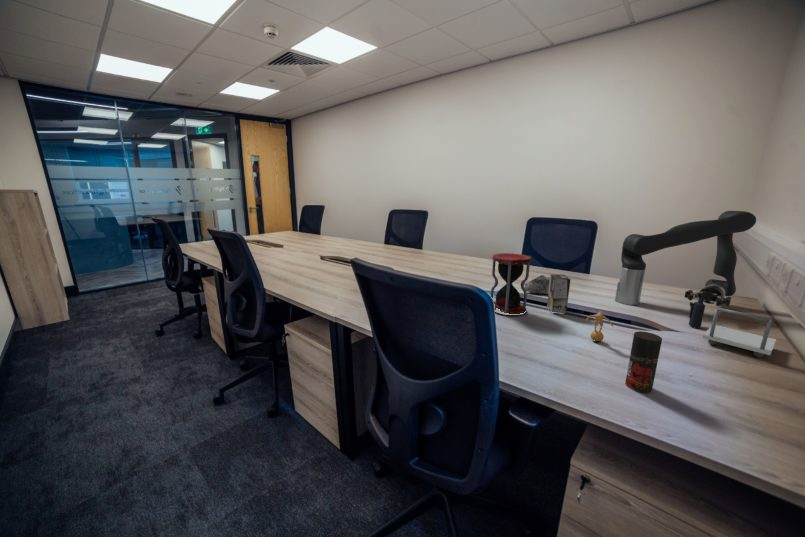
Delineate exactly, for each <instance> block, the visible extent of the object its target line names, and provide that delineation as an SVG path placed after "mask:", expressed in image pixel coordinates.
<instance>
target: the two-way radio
mask: <svg viewBox="0 0 805 537" xmlns="http://www.w3.org/2000/svg"><path fill="white" fill-rule="evenodd" d="M704 295H705V292H704V291H703V292H702V295H701V299H699V300H697V301H694V302H689V306H690V308H689V309H690V310H689V314H688V318H689V321H688V325H689V326H690V327H691V328H694V329H701V327H702V323H703V319H704V313H705V309H706V305H705V302H703V301H704Z"/></svg>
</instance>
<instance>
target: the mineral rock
mask: <svg viewBox="0 0 805 537" xmlns="http://www.w3.org/2000/svg"><path fill="white" fill-rule="evenodd" d="M549 282H550V276H545V275H544V274H541V275H539V276H537V277H535V278H533V279H531V280H530V281H528V282H525V283H524V289H525V290H526V292H527V293H531V294H536V293H539V294H541V295H542V294H543V295H548V292H549Z"/></svg>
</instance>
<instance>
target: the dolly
mask: <svg viewBox="0 0 805 537" xmlns="http://www.w3.org/2000/svg"><path fill="white" fill-rule="evenodd" d="M720 312H724V313H729V314H733V315H737V316H742V317H749V318H753V319H757V320H763V321H767V322H766V326H765V329H764V332H763V334H762V335H759V334H754V333H752V332H748V331H747V332H746V331H742V330H737V329H734V328H730V327H724V326H720V325H717V322H718V318H719V314H720ZM772 323H773V319H771V317H768V316H762V315H757V314H752V313H747V312H742V311H737V310H731V309H727V308H722V307H715V309H714V314H713V318H712V323H711V325H710V327H708V329H707V330H705V332H704V333H703V334H702V338H703V339H706V340H707V342H708V344H709V345H712V346H716V345H718V343H722V344H725V345H727V346H728V345H730V346H733V347H737V348H740V349H744V350H748V351H752V352H753V355H754V356H755V358H756V357H757V358H763V357H764V356H765V355H767V356H771V355H772V352H773V349H774V347H775V345H776V342H777V339H776V338H772V337H769V334H770V331H771V329H772V328H771V327H772Z"/></svg>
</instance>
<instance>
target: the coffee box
mask: <svg viewBox="0 0 805 537" xmlns="http://www.w3.org/2000/svg"><path fill="white" fill-rule="evenodd" d="M549 277H550V282H549V292H548V294H547V303H546V308H547V310H549V309H550V310H551V311H552V312H561V313H566V314H567V310H568V301H569V295H570V294H569V292H570V288H571V279H570V278H569V277H568V276H567V275H565V274H551V273H550V275H549Z"/></svg>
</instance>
